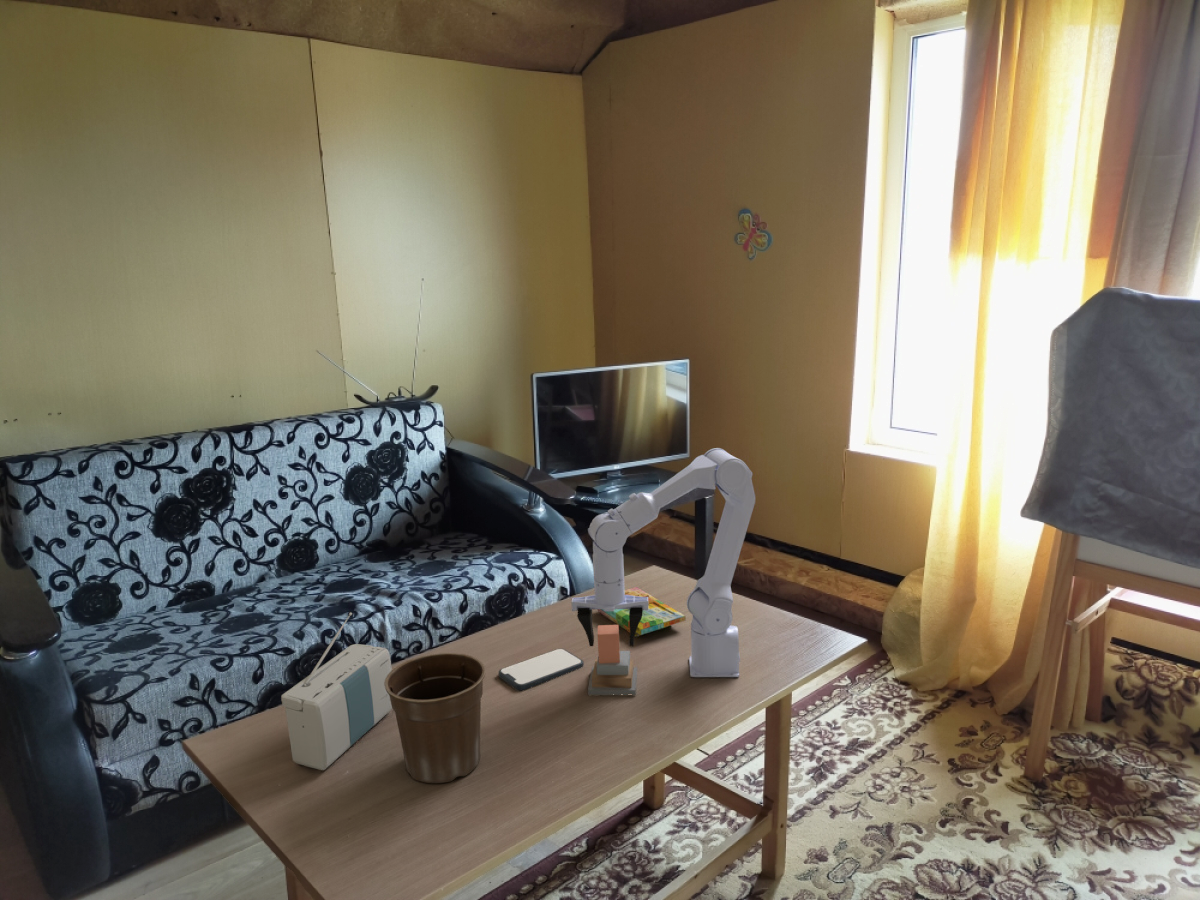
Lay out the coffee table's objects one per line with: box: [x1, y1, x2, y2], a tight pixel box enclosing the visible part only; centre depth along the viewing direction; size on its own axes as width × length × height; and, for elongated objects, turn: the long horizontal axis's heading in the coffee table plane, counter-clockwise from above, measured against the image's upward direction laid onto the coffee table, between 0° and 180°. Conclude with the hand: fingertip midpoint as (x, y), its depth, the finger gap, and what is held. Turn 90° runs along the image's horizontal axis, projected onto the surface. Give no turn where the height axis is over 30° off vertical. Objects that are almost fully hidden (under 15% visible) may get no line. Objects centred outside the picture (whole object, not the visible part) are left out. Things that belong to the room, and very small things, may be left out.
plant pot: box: [384, 652, 486, 784], centre depth 139 cm, size 16×16×16 cm
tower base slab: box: [587, 666, 638, 696], centre depth 164 cm, size 9×9×2 cm
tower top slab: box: [597, 650, 631, 675], centre depth 164 cm, size 6×6×2 cm
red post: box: [597, 624, 621, 663], centre depth 163 cm, size 4×4×6 cm
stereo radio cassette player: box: [280, 612, 393, 771], centre depth 147 cm, size 21×8×20 cm, turn 160°
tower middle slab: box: [592, 658, 635, 688], centre depth 164 cm, size 8×8×2 cm
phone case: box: [498, 648, 585, 692], centre depth 170 cm, size 9×2×16 cm
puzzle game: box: [596, 586, 686, 638], centre depth 190 cm, size 12×5×20 cm
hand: (611, 643), depth 162 cm, fingers open, 7 cm apart
